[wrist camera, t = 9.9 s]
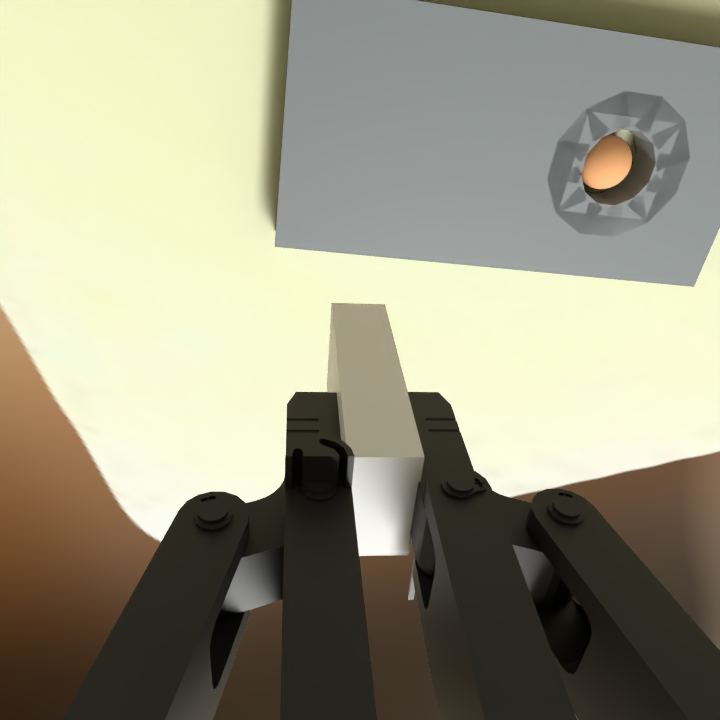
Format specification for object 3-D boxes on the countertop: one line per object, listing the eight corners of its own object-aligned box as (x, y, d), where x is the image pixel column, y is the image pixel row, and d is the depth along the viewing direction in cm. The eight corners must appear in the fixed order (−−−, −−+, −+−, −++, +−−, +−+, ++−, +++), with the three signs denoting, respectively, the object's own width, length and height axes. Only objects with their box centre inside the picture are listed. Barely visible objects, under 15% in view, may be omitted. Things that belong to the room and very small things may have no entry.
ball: (612, 118, 36) (638, 133, 39) (562, 140, 39) (590, 153, 41) (618, 171, 36) (644, 183, 38) (568, 190, 38) (595, 200, 40)
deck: (275, 232, 41) (274, 246, 38) (293, -19, 34) (293, -19, 31) (674, 271, 45) (693, 286, 42) (764, 54, 38) (793, 59, 35)
